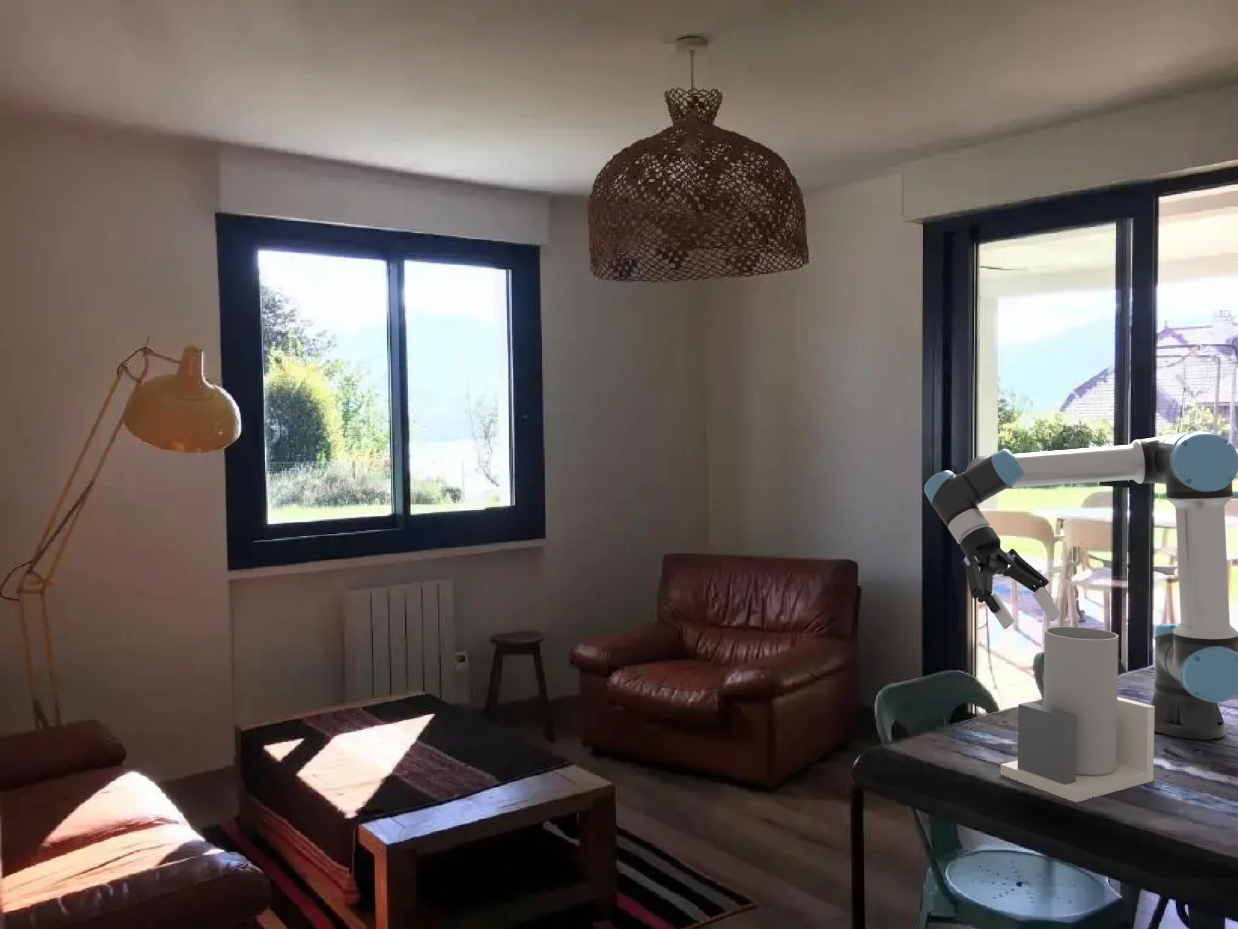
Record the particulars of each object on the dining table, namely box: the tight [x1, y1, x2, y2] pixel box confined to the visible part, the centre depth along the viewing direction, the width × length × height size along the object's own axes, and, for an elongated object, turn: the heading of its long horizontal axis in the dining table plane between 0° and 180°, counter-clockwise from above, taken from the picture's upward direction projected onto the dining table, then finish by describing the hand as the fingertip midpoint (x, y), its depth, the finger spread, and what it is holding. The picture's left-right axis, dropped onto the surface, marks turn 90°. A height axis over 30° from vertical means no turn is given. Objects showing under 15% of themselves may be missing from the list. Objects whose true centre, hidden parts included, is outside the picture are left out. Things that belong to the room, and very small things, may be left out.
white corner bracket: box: [1000, 696, 1155, 803], centre depth 186 cm, size 22×16×14 cm
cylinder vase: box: [1042, 626, 1119, 776], centre depth 186 cm, size 12×12×25 cm
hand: (1033, 621), depth 196 cm, fingers open, 13 cm apart
